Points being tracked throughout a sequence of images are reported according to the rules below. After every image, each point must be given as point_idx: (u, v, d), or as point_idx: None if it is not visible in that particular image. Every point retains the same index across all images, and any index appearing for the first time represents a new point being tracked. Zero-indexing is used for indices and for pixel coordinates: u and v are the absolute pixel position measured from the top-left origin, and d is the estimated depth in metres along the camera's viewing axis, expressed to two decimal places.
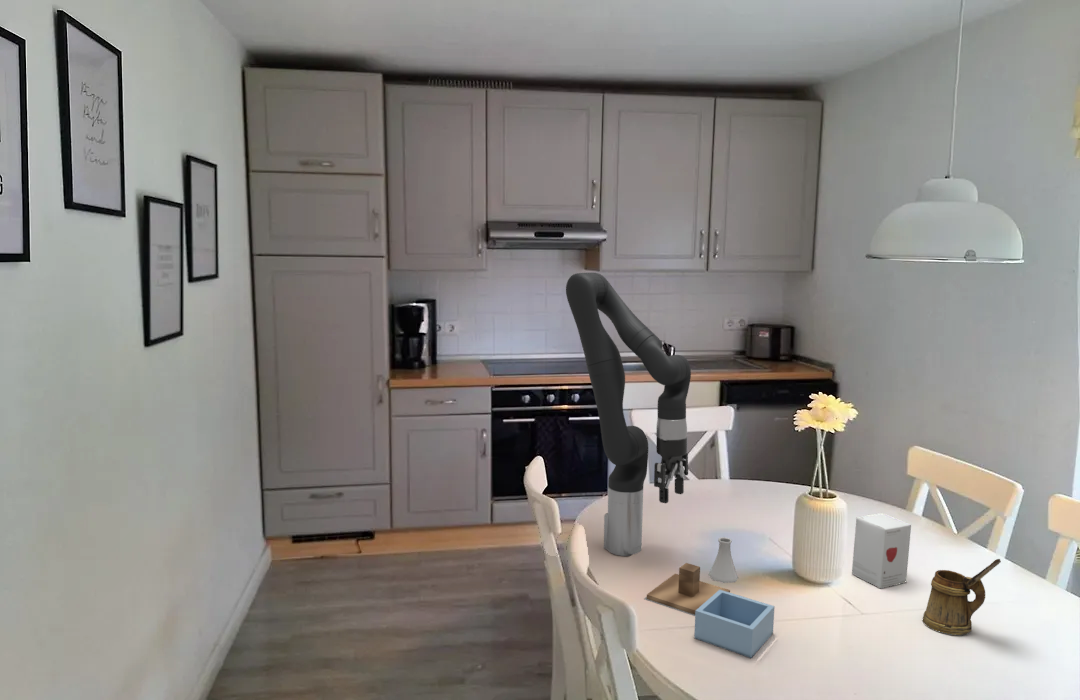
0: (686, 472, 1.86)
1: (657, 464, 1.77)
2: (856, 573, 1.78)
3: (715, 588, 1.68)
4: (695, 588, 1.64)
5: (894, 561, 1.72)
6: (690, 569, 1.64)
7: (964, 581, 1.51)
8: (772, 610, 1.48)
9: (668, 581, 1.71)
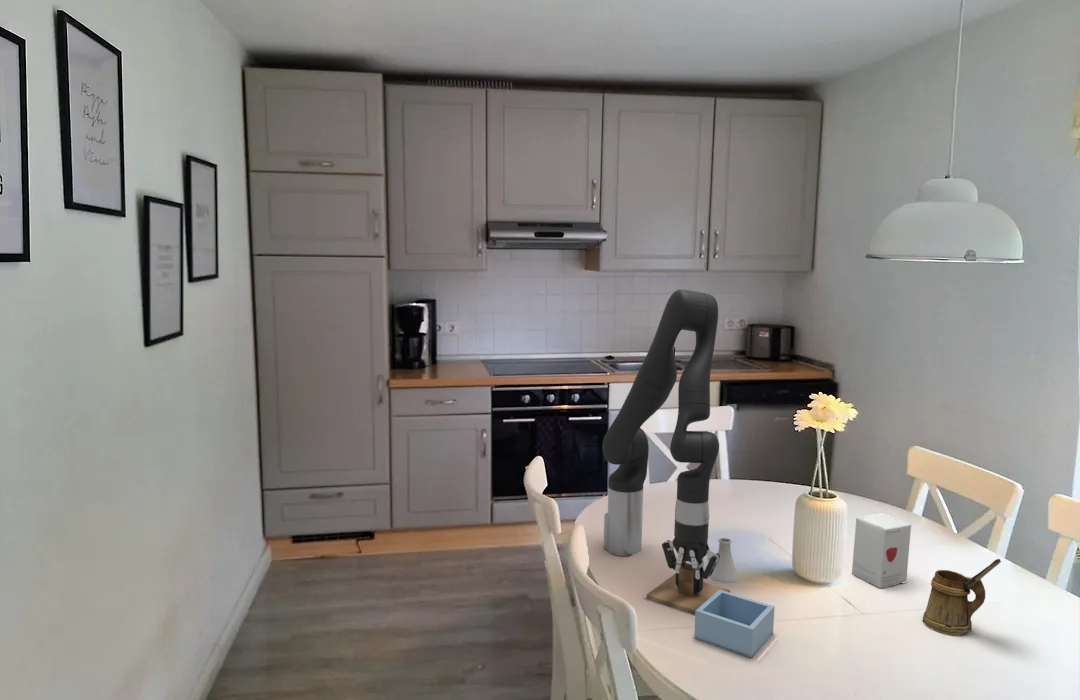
0: (676, 561, 1.68)
1: (716, 558, 1.60)
2: (856, 573, 1.78)
3: (715, 588, 1.68)
4: None
5: (894, 561, 1.72)
6: (690, 569, 1.64)
7: (964, 581, 1.51)
8: (772, 610, 1.48)
9: (668, 581, 1.71)
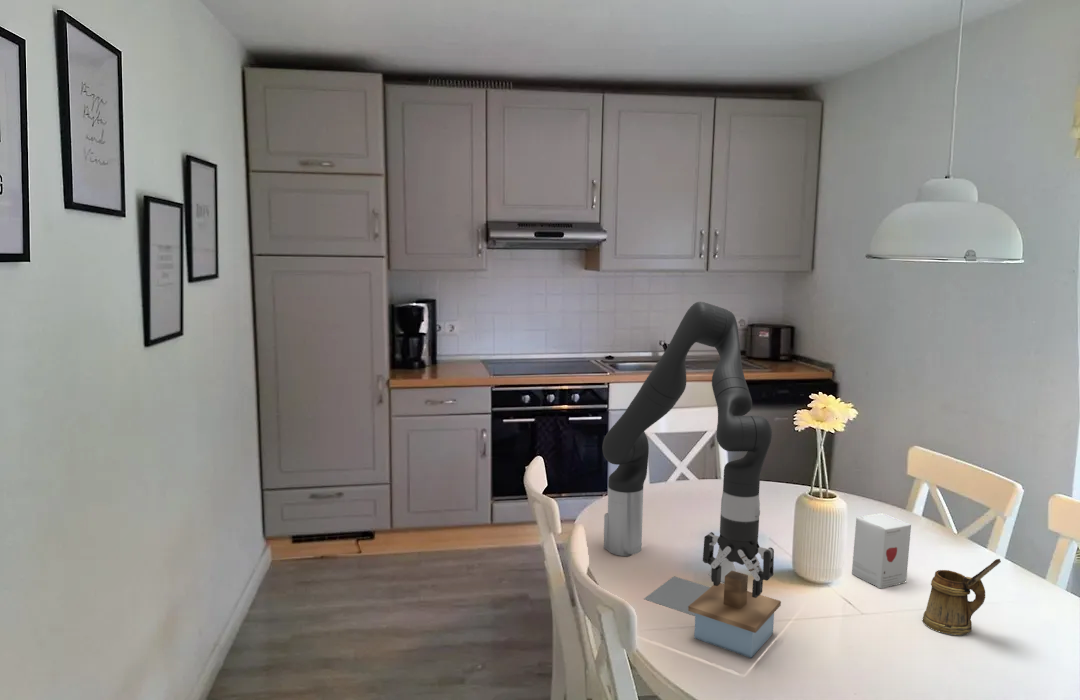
0: None
1: (769, 552, 1.42)
2: (856, 573, 1.78)
3: (764, 599, 1.50)
4: (743, 599, 1.47)
5: (894, 561, 1.72)
6: (737, 578, 1.46)
7: (964, 581, 1.51)
8: None
9: (710, 591, 1.53)
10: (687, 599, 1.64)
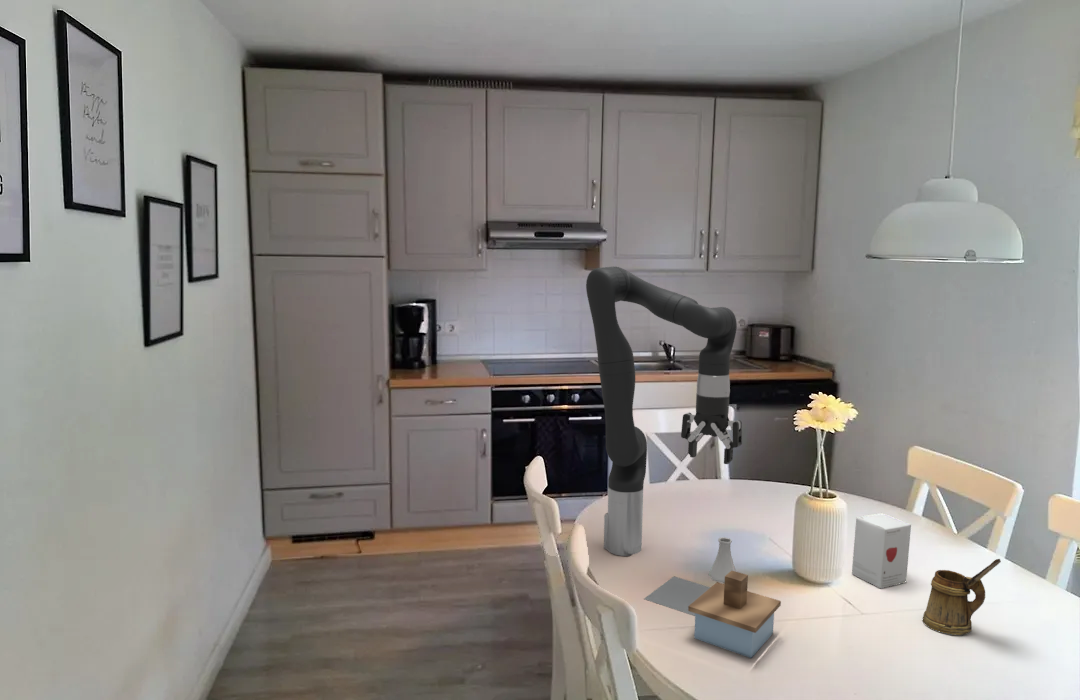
0: (689, 433, 1.75)
1: (738, 422, 1.65)
2: (856, 573, 1.78)
3: (764, 599, 1.50)
4: (743, 599, 1.47)
5: (894, 561, 1.72)
6: (737, 578, 1.46)
7: (964, 581, 1.51)
8: None
9: (710, 591, 1.53)
10: (687, 599, 1.64)
